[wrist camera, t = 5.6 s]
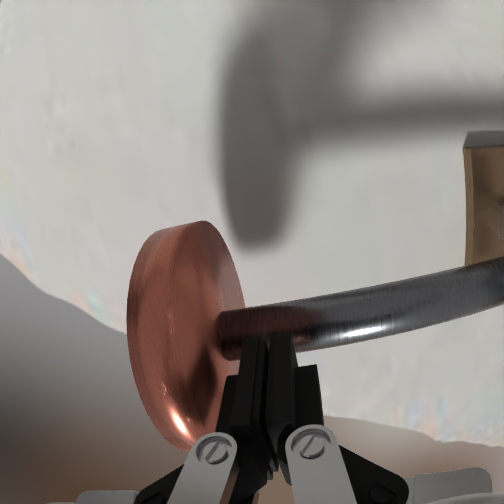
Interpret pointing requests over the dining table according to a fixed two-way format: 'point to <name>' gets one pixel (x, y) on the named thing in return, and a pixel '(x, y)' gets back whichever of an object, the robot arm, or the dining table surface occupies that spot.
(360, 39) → the dining table surface
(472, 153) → the eye post
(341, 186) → the dining table surface
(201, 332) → the copper disc on rod
